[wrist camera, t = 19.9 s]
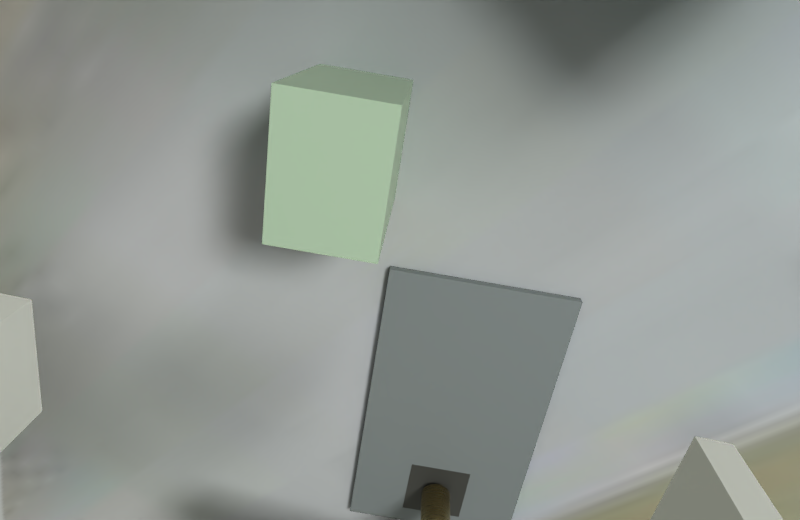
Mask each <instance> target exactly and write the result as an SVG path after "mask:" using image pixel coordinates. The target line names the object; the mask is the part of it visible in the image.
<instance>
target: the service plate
mask: <svg viewBox="0 0 800 520" xmlns="http://www.w3.org/2000/svg"><path fill="white" fill-rule="evenodd" d="M581 305H582V301H581V299H580V298H574V297H569V296H563V295H557V294H551V293H545V292H539V291H534V290H528V289H522V288H516V287H510V286H504V285H498V284H493V283H487V282H481V281H475V280H469V279H463V278H458V277H452V276H446V275H440V274H434V273H428V272H423V271H417V270H411V269H405V268H399V267H393V266H390V271H389V277H388V283H387V289H386V295H385V301H384V308H383V314H382V320H381V326H380V332H379V338H378V344H377V350H376V356H375V362H374V368H373V375H372V381H371V387H370V393H369V399H368V405H367V411H366V417H365V423H364V429H363V435H362V441H361V448H360V454H359V460H358V466H357V472H356V478H355V484H354V490H353V496H352V502H351V508H350V511H354V512H360V513H366V514H371V515H377V516H383V517H389V518H395V519H401V520H421V498H422V491H423V489H424V488H425V487H426V486H428V485H431V484H439V485H442V486H444V487H446V488H447V489H448V491H449V493H450V520H511V518H512V515H513V512H514V509H515V506H516V503H517V500H518V497H519V494H520V491H521V488H522V485H523V482H524V479H525V476H526V473H527V470H528V466H529V463H530V460H531V457H532V454H533V451H534V448H535V445H536V442H537V439H538V436H539V433H540V430H541V427H542V424H543V421H544V418H545V415H546V412H547V409H548V406H549V403H550V400H551V397H552V393H553V390H554V387H555V384H556V381H557V378H558V375H559V372H560V369H561V366H562V363H563V360H564V357H565V354H566V351H567V348H568V345H569V342H570V339H571V336H572V333H573V330H574V327H575V323H576V320H577V317H578V314H579V311H580V308H581Z"/></svg>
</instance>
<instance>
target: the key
mask: <svg viewBox="0 0 800 520" xmlns="http://www.w3.org/2000/svg"><path fill="white" fill-rule="evenodd" d="M421 520H450V493H449V491H448V489H447V488H446V487H444V486H442V485H439V484H431V485H428V486H426V487H425V488H424V489H423V491H422V498H421Z"/></svg>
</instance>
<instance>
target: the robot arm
mask: <svg viewBox="0 0 800 520" xmlns="http://www.w3.org/2000/svg"><path fill="white" fill-rule="evenodd" d="M41 412H42V401H41V391H40V381H39V370H38V360H37V349H36V339H35V329H34V318H33V308H32V300H31V299H26V298H22V297H17V296H12V295H7V294H2V293H0V453H1V452H2V451H3V450H4V449H5V448H6V447H7V446H8V445H9V444H10V443H11V442H12V441H13V440H14V439H15V438H16V437H17V436H18V435H19V434H20V433H21V432H22V431H23V430H24V429H25V428H26V427H27V426H28V425H29V424H30V423H31V422H32V421H33V420H34V419H35V418H36V417H37V416H38V415H39V414H40V413H41ZM650 520H783V519H782V517H781V516H780V514H779V513H778V511H777V510H776V508H775V507H774V505H773V504H772V502H771V501H770V499H769V498H768V496H767V495H766V493H765V491H764V490H763V488H762V487H761V485H760V484H759V482H758V481H757V479H756V478H755V476H754V475H753V473H752V472H751V470H750V469H749V467H748V466H747V464H746V463H745V461H744V460H743V458H742V457H741V455H740V454H739V452H738V451H737V449H736V448H735V446H734V445H733V444H730V443H725V442H720V441H715V440H710V439H706V438H701V437H696V436H695V437H694V439H693V441H692V443H691V445H690V446H689V448H688V450H687V452H686V454H685V456H684V458H683V460H682V461H681V463H680V465H679V467H678V469H677V471H676V473H675V475H674V476H673V478H672V480H671V482H670V484H669V486H668V488H667V490H666V491H665V493H664V495H663V497H662V499H661V501H660V503H659V504H658V506H657V508H656V510H655V512H654V514H653V516H652V518H651V519H650Z"/></svg>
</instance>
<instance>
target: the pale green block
mask: <svg viewBox="0 0 800 520" xmlns="http://www.w3.org/2000/svg"><path fill="white" fill-rule="evenodd" d="M412 86H413V80H410V79H405V78H399V77H393V76H387V75H381V74H375V73H370V72H364V71H358V70H352V69H346V68H340V67H335V66H329V65H323V64H319V65H316V66H314V67H311V68H308V69H306V70H303V71H301V72H298V73H296V74H293V75H291V76H288V77H285V78H283V79H280V80H278V81H275V82H273V83H272V85H271V101H270V118H269V135H268V152H267V168H266V185H265V202H264V218H263V235H262V244H264V245H270V246H276V247H281V248H287V249H293V250H299V251H305V252H311V253H316V254H322V255H328V256H334V257H340V258H345V259H351V260H357V261H363V262H369V263H375V264H378V261H379V257H380V253H381V249H382V246H383V242H384V238H385V234H386V230H387V226H388V222H389V218H390V215H391V211H392V207H393V203H394V199H395V193H396V186H397V180H398V174H399V168H400V161H401V155H402V149H403V142H404V136H405V130H406V124H407V117H408V111H409V105H410V99H411V92H412Z"/></svg>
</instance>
